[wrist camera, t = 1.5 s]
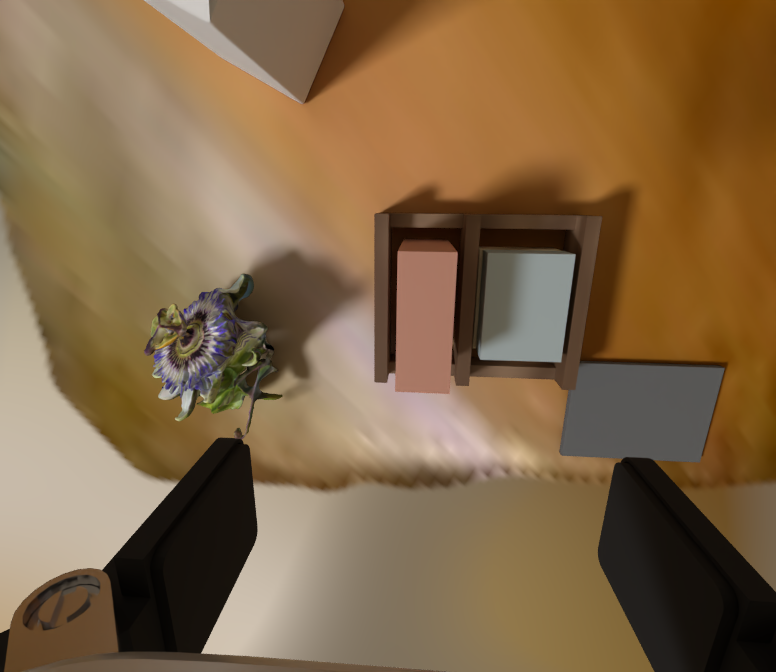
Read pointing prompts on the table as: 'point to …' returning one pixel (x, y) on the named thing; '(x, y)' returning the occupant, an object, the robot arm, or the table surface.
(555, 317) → the offcut upper
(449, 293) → the pink rectangular block
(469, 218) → the rack
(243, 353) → the passion flower
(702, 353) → the table surface
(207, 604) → the robot arm
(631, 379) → the slate mat
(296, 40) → the milk carton
